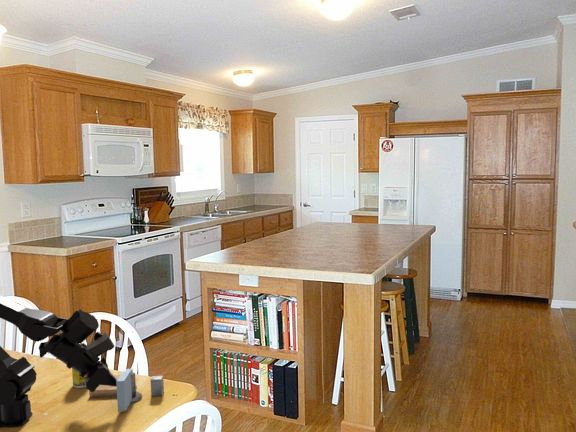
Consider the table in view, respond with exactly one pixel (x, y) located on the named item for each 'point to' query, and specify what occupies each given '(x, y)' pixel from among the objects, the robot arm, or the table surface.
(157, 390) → the bracket
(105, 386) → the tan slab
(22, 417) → the robot arm
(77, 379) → the supplement bottle
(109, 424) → the table surface
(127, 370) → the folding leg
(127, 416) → the table surface
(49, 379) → the table surface
